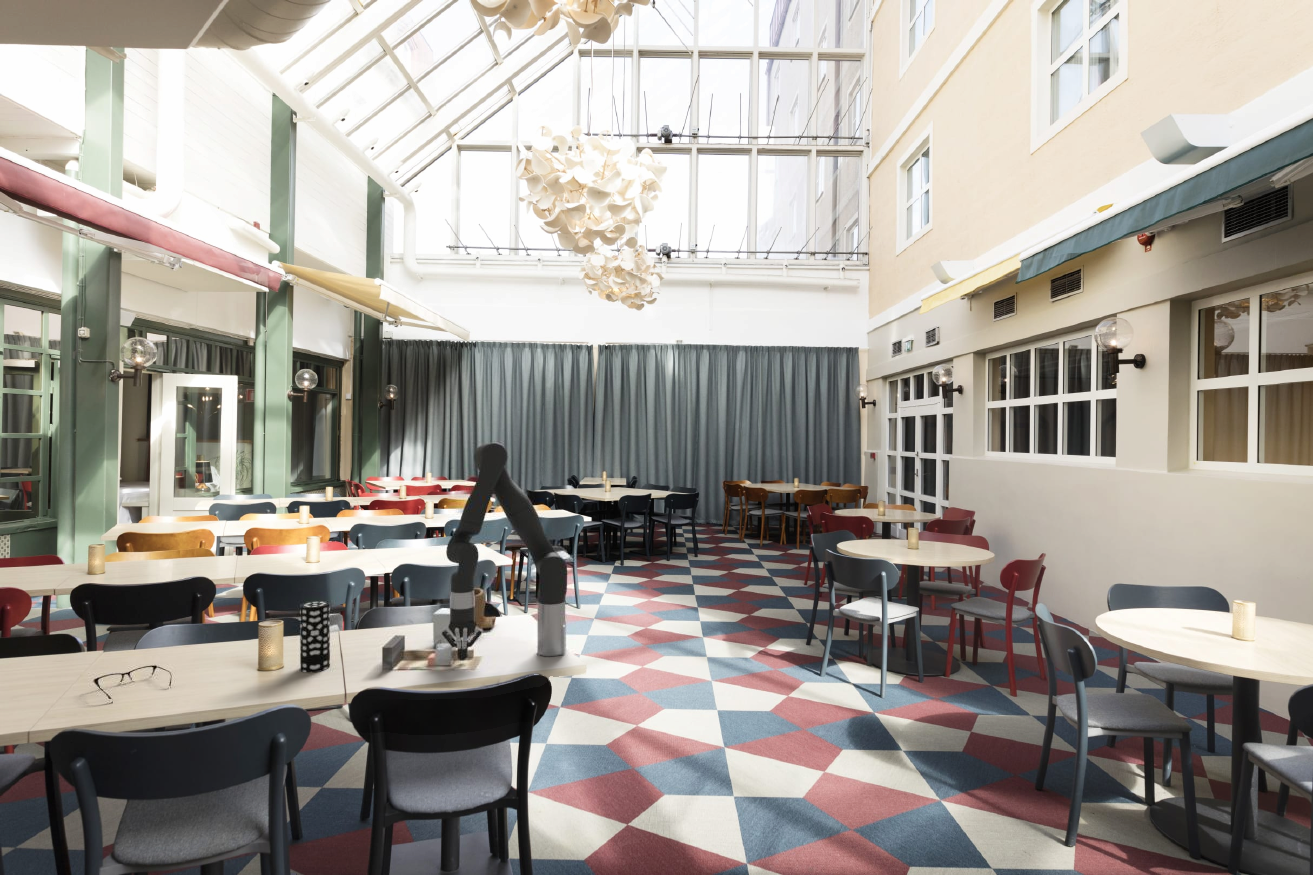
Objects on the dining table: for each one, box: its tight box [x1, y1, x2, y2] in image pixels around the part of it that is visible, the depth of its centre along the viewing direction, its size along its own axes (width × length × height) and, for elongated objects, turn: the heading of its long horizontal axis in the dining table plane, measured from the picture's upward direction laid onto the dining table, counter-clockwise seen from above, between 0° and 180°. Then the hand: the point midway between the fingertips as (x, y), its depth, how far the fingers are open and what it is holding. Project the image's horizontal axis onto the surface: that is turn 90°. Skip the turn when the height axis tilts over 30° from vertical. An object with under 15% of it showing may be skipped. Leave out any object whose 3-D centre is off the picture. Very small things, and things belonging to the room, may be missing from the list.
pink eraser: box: [428, 653, 435, 665], centre depth 218 cm, size 2×4×2 cm, turn 3°
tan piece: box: [474, 587, 497, 630], centre depth 259 cm, size 15×12×15 cm
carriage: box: [433, 640, 457, 666], centre depth 218 cm, size 5×6×6 cm
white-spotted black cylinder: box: [299, 600, 331, 674], centre depth 217 cm, size 8×8×20 cm
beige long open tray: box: [381, 634, 484, 672], centre depth 218 cm, size 28×12×8 cm, turn 93°
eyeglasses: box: [92, 664, 172, 700], centre depth 199 cm, size 16×16×4 cm
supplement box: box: [432, 607, 456, 646], centre depth 238 cm, size 7×7×13 cm
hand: (462, 659), depth 218 cm, fingers closed
